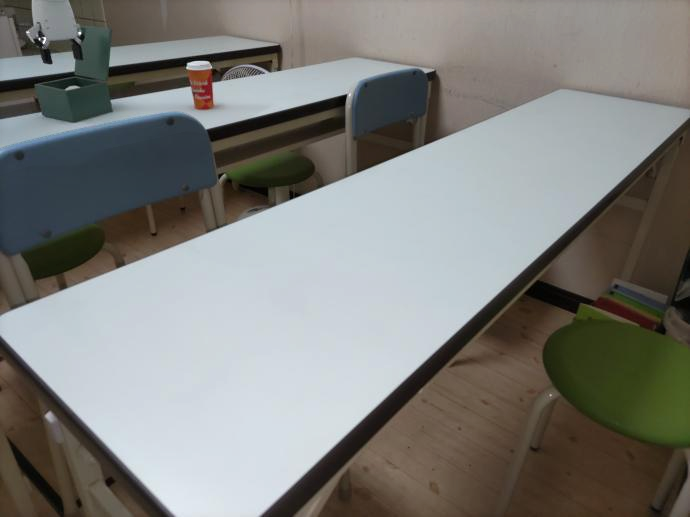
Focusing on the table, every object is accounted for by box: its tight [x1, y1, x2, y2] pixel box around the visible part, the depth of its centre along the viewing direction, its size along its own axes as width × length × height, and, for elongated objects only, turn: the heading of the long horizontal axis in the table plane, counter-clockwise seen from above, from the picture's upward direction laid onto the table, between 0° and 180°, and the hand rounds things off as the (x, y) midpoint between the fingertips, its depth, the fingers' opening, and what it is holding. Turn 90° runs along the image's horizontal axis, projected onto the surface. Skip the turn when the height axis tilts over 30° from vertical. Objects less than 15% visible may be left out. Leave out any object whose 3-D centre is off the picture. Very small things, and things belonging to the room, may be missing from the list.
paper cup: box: [185, 60, 215, 111], centre depth 157 cm, size 8×8×14 cm
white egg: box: [65, 86, 80, 90], centre depth 149 cm, size 10×7×7 cm
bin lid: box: [74, 24, 113, 82], centre depth 151 cm, size 14×14×1 cm
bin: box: [33, 76, 114, 124], centre depth 150 cm, size 14×14×9 cm
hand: (63, 61), depth 144 cm, fingers open, 9 cm apart
